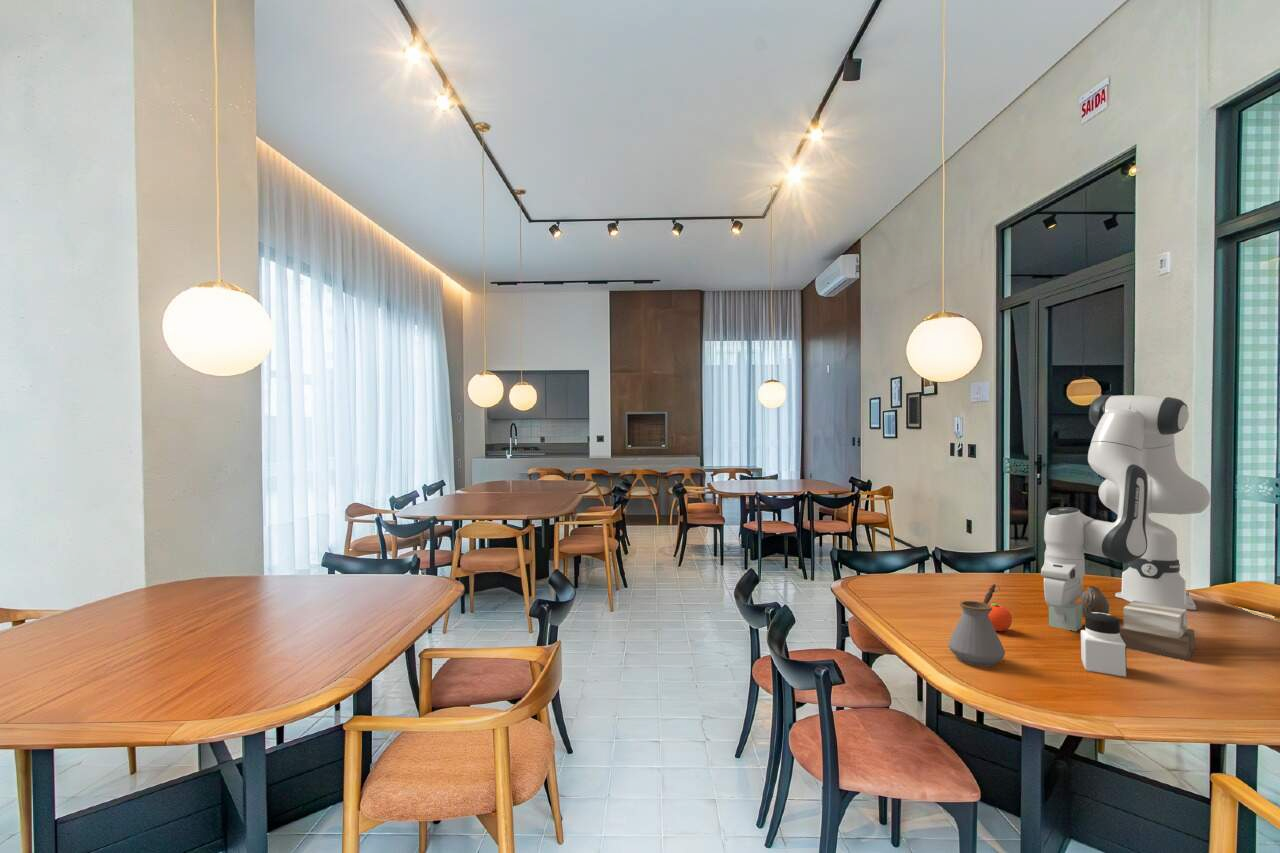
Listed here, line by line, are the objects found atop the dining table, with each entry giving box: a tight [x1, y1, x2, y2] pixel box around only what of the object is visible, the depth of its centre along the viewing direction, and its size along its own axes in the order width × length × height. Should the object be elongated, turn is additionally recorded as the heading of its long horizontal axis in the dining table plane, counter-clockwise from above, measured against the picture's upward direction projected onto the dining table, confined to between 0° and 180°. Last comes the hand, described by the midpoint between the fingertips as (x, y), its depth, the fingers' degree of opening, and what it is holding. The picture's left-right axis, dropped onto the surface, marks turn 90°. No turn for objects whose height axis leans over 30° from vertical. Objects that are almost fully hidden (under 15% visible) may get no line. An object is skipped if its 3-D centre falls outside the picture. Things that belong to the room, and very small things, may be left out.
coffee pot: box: [947, 583, 1006, 667], centre depth 136 cm, size 21×12×15 cm, turn 133°
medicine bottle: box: [1080, 612, 1128, 678], centre depth 127 cm, size 7×7×12 cm
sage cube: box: [1048, 603, 1083, 632], centre depth 156 cm, size 6×6×6 cm
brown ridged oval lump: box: [1078, 585, 1110, 617], centre depth 163 cm, size 7×7×9 cm
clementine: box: [988, 603, 1013, 632], centre depth 153 cm, size 8×7×7 cm
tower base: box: [1120, 623, 1196, 662], centre depth 140 cm, size 12×12×5 cm
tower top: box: [1122, 601, 1188, 639], centre depth 140 cm, size 10×10×5 cm
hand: (1065, 617), depth 156 cm, fingers open, 6 cm apart
